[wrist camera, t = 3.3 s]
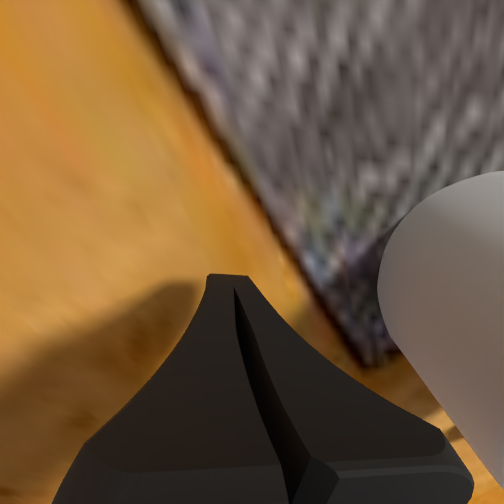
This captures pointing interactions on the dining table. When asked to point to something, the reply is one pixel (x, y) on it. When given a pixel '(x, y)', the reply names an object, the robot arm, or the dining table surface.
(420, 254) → the lumpy-topped squat cylinder
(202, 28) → the dining table surface
